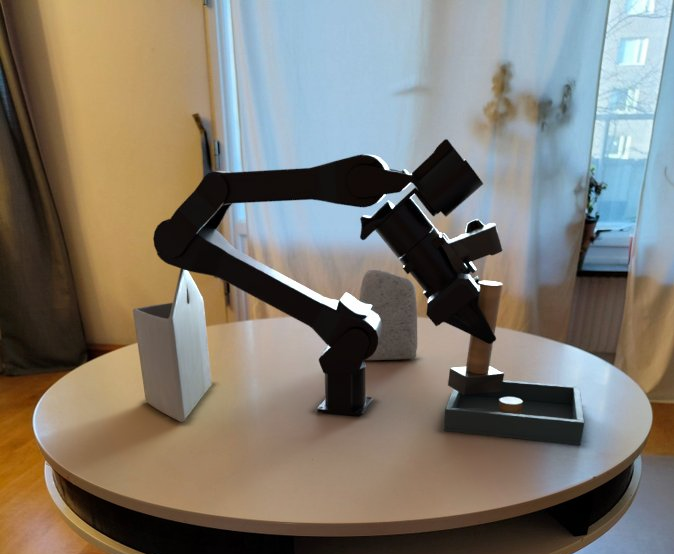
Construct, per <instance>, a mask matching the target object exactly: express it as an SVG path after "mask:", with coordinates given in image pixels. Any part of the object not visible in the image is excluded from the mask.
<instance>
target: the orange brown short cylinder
mask: <svg viewBox="0 0 674 554" xmlns="http://www.w3.org/2000/svg"><path fill="white" fill-rule="evenodd" d="M522 403H523V401H522V400H521V399H519V398H515V397H503V398H501V399H500V400H499V409H498V412H501V413H512V414H521V411H522Z"/></svg>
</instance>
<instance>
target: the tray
mask: <svg viewBox="0 0 674 554" xmlns="http://www.w3.org/2000/svg"><path fill="white" fill-rule="evenodd" d="M503 397H515V398H519V399H521V400H522V401H523V403H522V411H521V414H512V413H501V412H498V409H499V400H500V399H501V398H503ZM582 403H583V402H582V396H581V387H580V386H579V385H578V386H577V385H565V384H555V383H542V382H531V381H530V382H529V381H517V380H505V379H503V384H502V390H501V391H497V392H488V393H479V394H471V395H463V394H461V393H460V392H458V391H456V390H455V389H453V390H452V393H451V395H450V397H449V399H448V402H447V404H446V407H445V409H444V420H443V421H444V422H443V431H445V432H451V433H452V432H453V433H461V434H472V435H478V436H479V435H480V436H490V437H499V438H506V439H507V438H508V439H509V438H510V439H518V440H527V441H536V442H537V441H538V442H544V443H554V444H565V445H574V446H581V445H582V444H581V443H582V438H583V433H584V426H585V417H584V412H583V404H582Z"/></svg>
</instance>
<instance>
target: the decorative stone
mask: <svg viewBox="0 0 674 554" xmlns="http://www.w3.org/2000/svg"><path fill="white" fill-rule="evenodd" d="M359 291H360V292H359V299H358V301H360V302H362V303H364V304H371V305H372V308H371V310H372V311H374V312H375V313H376V314H377V315H378V316H379V317H380V320H381V323H382V326H383V329H382V335H381V338H380V341H379V344H378V346H377V349H376V351H375V352H374V354H373V355H372V356H371V357H369V358H368V359H366V360H365V361H382V360H384V361H385V360H386V361H389V360H390V361H391V360H393V361H394V360H411V359H415V358H416V357H417V352H418V301H417V294H416V286H415V283H414V281H413V280H411V279H410V278H407V277H405V276H404V277H403V276H400V275H398V274H394V273H392V272H389V271H387V270H381V269H369V270H367V271H366V272H365V273H364V275H363V277H362V281H361V285H360V290H359Z"/></svg>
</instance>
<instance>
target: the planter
mask: <svg viewBox="0 0 674 554" xmlns="http://www.w3.org/2000/svg"><path fill="white" fill-rule="evenodd" d="M179 269H180V270H179V274H178V278H177V283H176V287H175V291H174V295H173V300H172V302H167V303H159V304H153V305H148V306H147V305H145V306H141V307H135V308H133V309H132V315H133V322H134V329H135V335H136V342H137V348H138V355H139V363H140V370H141V377H142V384H143V391H144V399H145V402H146V403H148V404H149V405H150V406H151V407H153V408H154V409H156V410H157V411H159V412H161V413H162V414H164V415H167V416H168V417H170V418H172V419H174V420H176V421H178V422H181V423H182V422H184V421H185V420H187V418H188V417H189V415H190V414H191V413H192V411H193V410H194V409H195V408H196V406H197V404H198V403H199V402H200V401H201V399H202V398H203V397H204V395H205V394H206V393H207V391H208V390H209V389H210V387H211V386H212V375H211V364H210V354H209V344H208V332H207V322H206V312H205V303H204V298H203V296H202V294H201V292H200V289H199V288H198V286H197V284H196V282H195V280H194V279H193V277H192V275H191V274H190V271H187V270H184V269H181V268H179Z"/></svg>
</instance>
